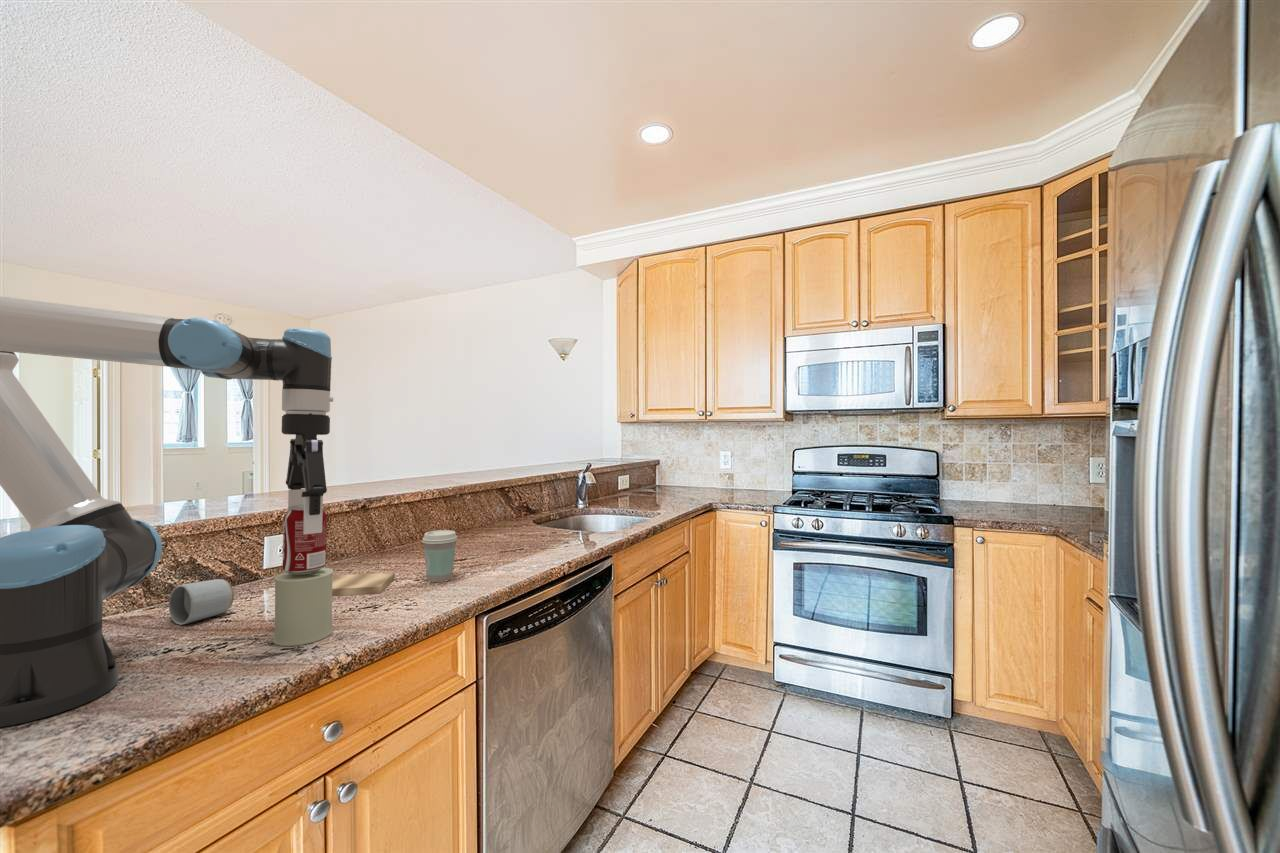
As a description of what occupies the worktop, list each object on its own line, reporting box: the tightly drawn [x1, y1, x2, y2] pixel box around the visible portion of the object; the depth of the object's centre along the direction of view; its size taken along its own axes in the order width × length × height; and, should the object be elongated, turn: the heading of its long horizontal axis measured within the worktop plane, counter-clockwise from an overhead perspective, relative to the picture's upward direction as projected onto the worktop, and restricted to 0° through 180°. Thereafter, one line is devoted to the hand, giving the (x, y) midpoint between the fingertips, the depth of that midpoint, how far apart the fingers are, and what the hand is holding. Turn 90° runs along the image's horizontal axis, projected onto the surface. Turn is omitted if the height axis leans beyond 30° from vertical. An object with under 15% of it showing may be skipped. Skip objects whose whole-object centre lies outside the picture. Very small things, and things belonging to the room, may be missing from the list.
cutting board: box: [332, 572, 396, 597], centre depth 124 cm, size 16×12×2 cm
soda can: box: [282, 505, 328, 575], centre depth 95 cm, size 7×7×12 cm
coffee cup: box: [421, 529, 459, 583], centre depth 131 cm, size 8×8×12 cm
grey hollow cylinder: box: [168, 578, 235, 626], centre depth 104 cm, size 11×8×8 cm
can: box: [272, 567, 334, 647], centre depth 95 cm, size 9×9×12 cm
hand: (304, 528), depth 95 cm, fingers open, 13 cm apart
